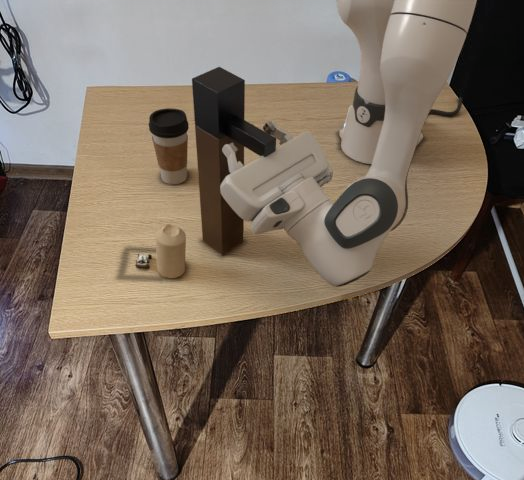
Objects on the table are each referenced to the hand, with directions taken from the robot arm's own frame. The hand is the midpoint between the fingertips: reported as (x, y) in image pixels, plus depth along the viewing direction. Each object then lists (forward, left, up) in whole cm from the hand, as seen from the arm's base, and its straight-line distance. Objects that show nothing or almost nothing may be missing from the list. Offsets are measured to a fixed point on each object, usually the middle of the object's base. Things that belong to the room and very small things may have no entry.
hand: (247, 134), depth 91 cm
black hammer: (0, -2, -1) cm, 2 cm away
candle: (+13, -8, -27) cm, 31 cm away
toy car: (+16, -13, -28) cm, 34 cm away
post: (0, -7, -27) cm, 28 cm away
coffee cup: (-7, -31, -28) cm, 42 cm away
